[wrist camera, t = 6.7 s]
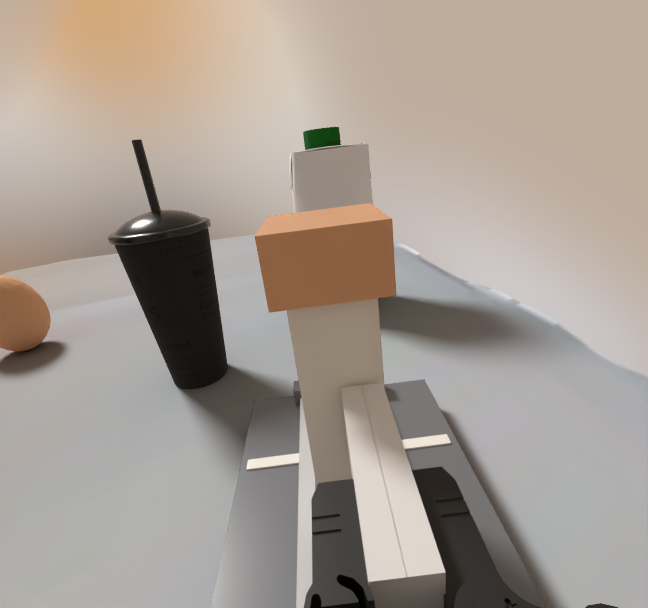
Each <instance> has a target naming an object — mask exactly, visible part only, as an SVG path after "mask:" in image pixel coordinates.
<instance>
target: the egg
mask: <svg viewBox="0 0 648 608" xmlns="http://www.w3.org/2000/svg"><path fill="white" fill-rule="evenodd" d="M49 328H50V313H49V310H48V308H47V305H46V303H45V302H44V300H43V299H42V297H41V296H40V295H39V294H38V293H37V292H36V291H35V290H34V289H33V288H32V287H30V286H29V285H28V284H26V283H25V282H23V281H21V280H18V279H16V278H13V277H7V276H0V348H3V349H6V350H11V351H26V350H30V349H32V348H34V347H36V346H37V345H38V344H40V343H41V342H42V341H43V339H44V338H45V337H46V335H47V333H48V330H49Z"/></svg>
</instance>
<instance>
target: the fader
mask: <svg viewBox="0 0 648 608" xmlns="http://www.w3.org/2000/svg"><path fill="white" fill-rule="evenodd" d="M255 240H256V246H257V251H258V256H259V262H260V267H261V272H262V278H263V283H264V288H265V293H266V299H267V304H268V309H269V312H276V311H284V310H287V315H288V321H289V327H290V333H291V339H292V345H293V350H294V356H295V362H296V368H297V374H298V380H299V386H300V392H301V398H302V404H303V409H304V415H305V421H306V427H307V433H308V439H309V445H310V451H311V457H312V463H313V468H314V474H315V480H316V486H317V485H318V483H322V482H330V481H338V480H346V479H352V473H351V466H350V459H349V452H348V444H347V436H346V428H345V420H344V411H343V403H342V395H341V388H344V387H352V386H359V385H367V384H375V383H383V386H384V375H383V361H382V347H381V334H380V320H379V307H378V298H384V297H392V296H396V282H395V264H394V246H393V227H392V218H391V217H389V216H388V215H386V214H385V213H383V212H382V211H381V210H379V209H378V208H376V207H375V206H373V205H372V204H371V203H367V204H359V205H351V206H344V207H336V208H328V209H320V210H313V211H305V212H297V213H290V214H282V215H274V216H268V217H267V218H266V220H265V221H264V223H263V224H262V226H261V228H260V229H259V231H258V232H257V234H256V235H255ZM384 389H385V388H384Z"/></svg>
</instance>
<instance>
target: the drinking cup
mask: <svg viewBox="0 0 648 608" xmlns="http://www.w3.org/2000/svg"><path fill="white" fill-rule="evenodd" d="M132 144H133V147H134V151H135V154H136V158H137V162H138V165H139V169H140V172H141V176H142V180H143V183H144V187H145V190H146V194H147V197H148V201H149V204H150V208H151V212H149V213H145V214H143V215H140V216H138V217H135V218H133V219H131V220H130V221H128V222H126V223H125V224H124V225H122V226H121V227H120V228H119V229H118V230H117V231H116V232H114V233H112V234H110V235H109V236H108V239H109V242H110V243H111V244H114V245H115V247H116V249H117V252H118V254H119V256H120V259H121V261H122V263H123V265H124V268H125V270H126V272H127V275H128V277H129V279H130V282H131V284H132V286H133V288H134V291H135V293H136V295H137V298H138V300H139V302H140V305H141V307H142V309H143V311H144V314H145V316H146V318H147V321H148V323H149V325H150V328H151V330H152V332H153V334H154V337H155V339H156V341H157V344H158V346H159V348H160V350H161V353H162V355H163V357H164V360H165V362H166V364H167V367H168V369H169V371H170V373H171V376H172V378H173V380H174V383H175V384H176V385H177V386H178V387H180V388H185V389H192V388H199V387H203V386H206V385H209V384H211V383H213V382H215V381H217V380H219V379H220V378H221V377H222V376H223V375H224V374H225V373H226V371H227V368H228V366H227V359H226V352H225V345H224V338H223V331H222V324H221V317H220V310H219V302H218V295H217V288H216V281H215V274H214V267H213V260H212V253H211V246H210V239H209V232H208V227H210V220H209V219H208V218H204V217H199V216H197V215H195V214H192V213H189V212H184V211H177V210H160V206H159V202H158V199H157V195H156V191H155V188H154V184H153V180H152V177H151V173H150V169H149V166H148V162H147V158H146V155H145V151H144V147H143V144H142V140H132Z"/></svg>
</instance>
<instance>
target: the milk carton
mask: <svg viewBox="0 0 648 608" xmlns="http://www.w3.org/2000/svg"><path fill="white" fill-rule="evenodd" d="M303 134H304V143H305V150H303V151H298V152H292V153H291V154H290V170H289V171H290V172H289V173H290V188H291V189H292V197H293V207H294V213H297V212H305V211H313V210H320V209H328V208H336V207H344V206H351V205H359V204H367V203H371V204H372V205H373V200H372V189H371V180H370V178H371V173H370V165H369V151H368V144H362V143H361V144H350V145H341V144H340V133H339V127H329V128H321V129H314V130H308V131H305V132H303ZM291 176H292V187H291Z"/></svg>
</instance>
